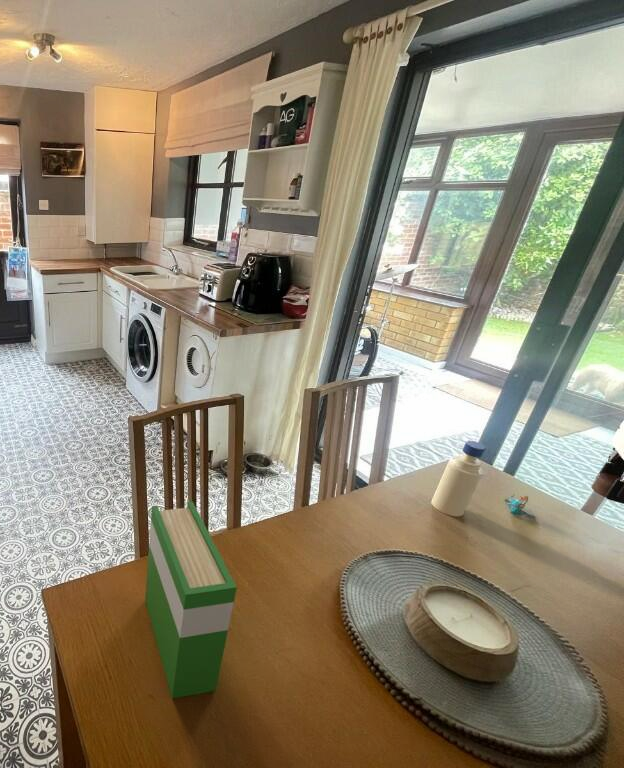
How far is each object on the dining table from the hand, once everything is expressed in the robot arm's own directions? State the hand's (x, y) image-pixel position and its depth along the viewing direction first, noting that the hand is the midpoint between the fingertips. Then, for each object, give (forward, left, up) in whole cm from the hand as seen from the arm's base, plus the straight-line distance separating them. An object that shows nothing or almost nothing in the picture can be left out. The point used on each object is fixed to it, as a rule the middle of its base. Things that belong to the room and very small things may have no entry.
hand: (613, 491), depth 71 cm
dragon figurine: (+1, -33, -28) cm, 43 cm away
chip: (0, 0, 0) cm, 0 cm away
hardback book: (+54, +53, -28) cm, 81 cm away
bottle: (+15, -22, -28) cm, 39 cm away
